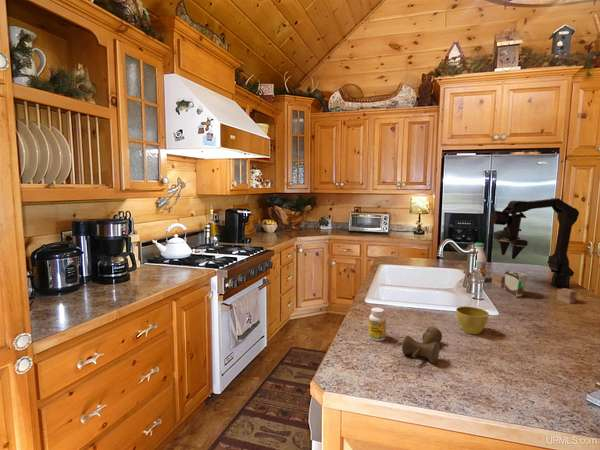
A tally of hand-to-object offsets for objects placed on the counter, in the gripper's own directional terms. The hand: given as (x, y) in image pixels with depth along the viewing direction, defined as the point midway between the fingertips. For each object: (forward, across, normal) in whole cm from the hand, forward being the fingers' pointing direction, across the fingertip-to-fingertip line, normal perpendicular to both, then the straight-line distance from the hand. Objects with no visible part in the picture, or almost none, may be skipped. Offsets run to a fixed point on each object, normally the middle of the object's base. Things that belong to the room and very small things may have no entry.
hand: (507, 256), depth 174 cm
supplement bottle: (+21, +64, -75) cm, 101 cm away
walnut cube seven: (+14, +23, +15) cm, 31 cm away
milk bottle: (+16, -8, -9) cm, 20 cm away
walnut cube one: (+15, 0, -2) cm, 15 cm away
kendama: (+21, +74, -63) cm, 99 cm away
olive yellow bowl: (+18, +58, -42) cm, 73 cm away
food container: (+15, +15, -2) cm, 21 cm away
